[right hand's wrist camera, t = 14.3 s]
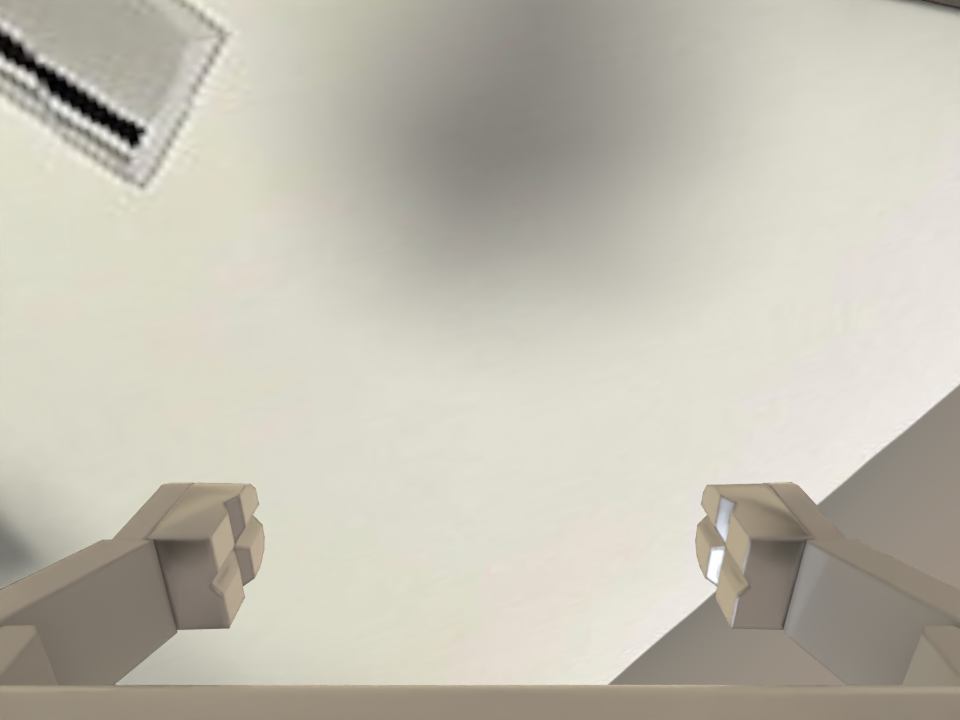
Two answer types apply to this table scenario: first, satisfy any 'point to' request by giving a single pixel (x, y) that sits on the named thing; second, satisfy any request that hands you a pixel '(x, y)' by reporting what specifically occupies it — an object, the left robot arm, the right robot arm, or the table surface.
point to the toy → (946, 2)
